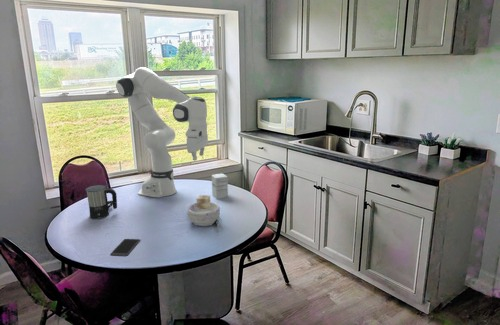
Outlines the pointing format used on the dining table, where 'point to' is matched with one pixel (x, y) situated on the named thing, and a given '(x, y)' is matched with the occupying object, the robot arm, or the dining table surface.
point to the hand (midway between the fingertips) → (198, 157)
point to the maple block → (203, 202)
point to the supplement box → (219, 186)
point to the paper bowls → (204, 214)
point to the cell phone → (125, 247)
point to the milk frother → (100, 201)
